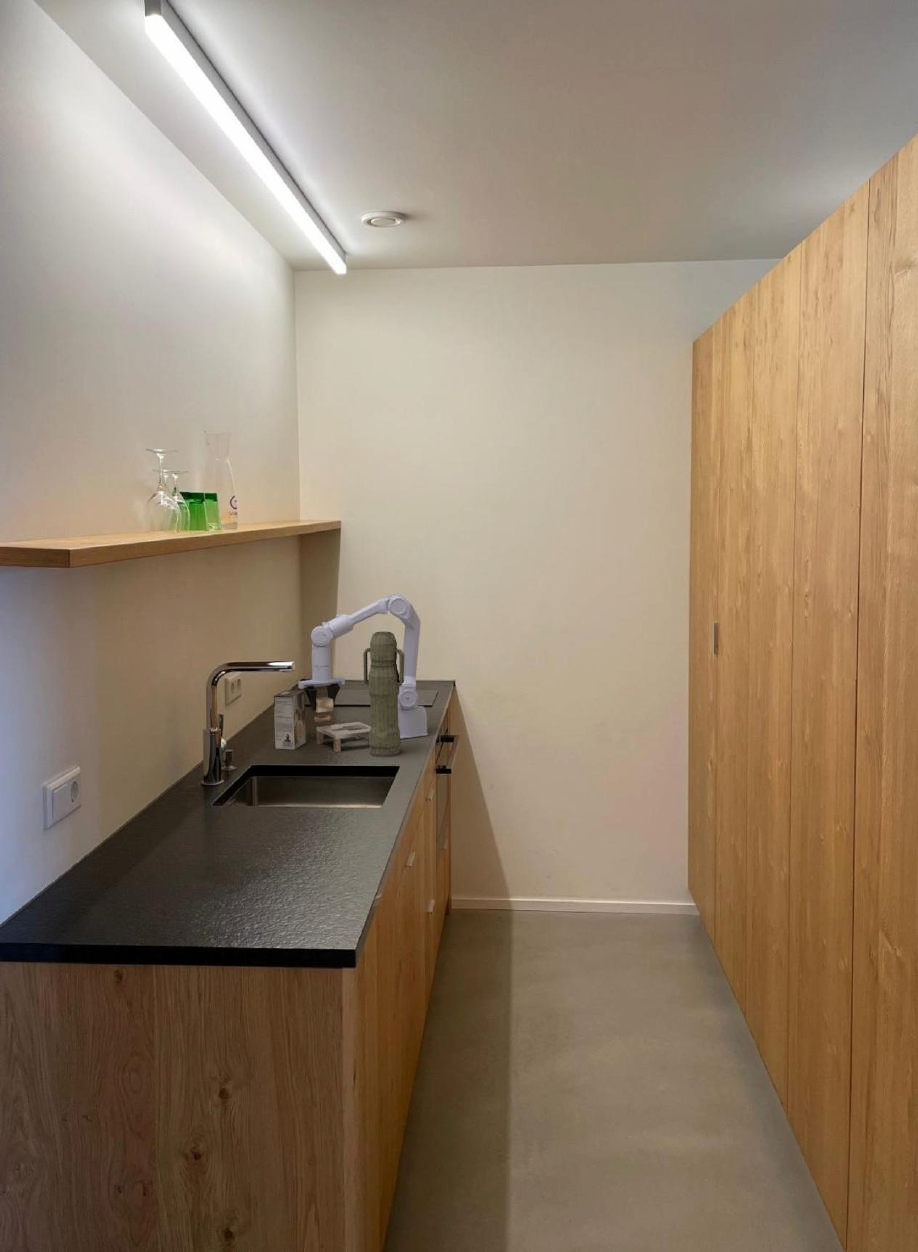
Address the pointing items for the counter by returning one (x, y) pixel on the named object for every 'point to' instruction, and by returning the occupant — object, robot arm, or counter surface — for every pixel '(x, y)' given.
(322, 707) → the peg
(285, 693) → the coffee box
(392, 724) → the thermos
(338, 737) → the keyhole stand
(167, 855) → the counter surface
